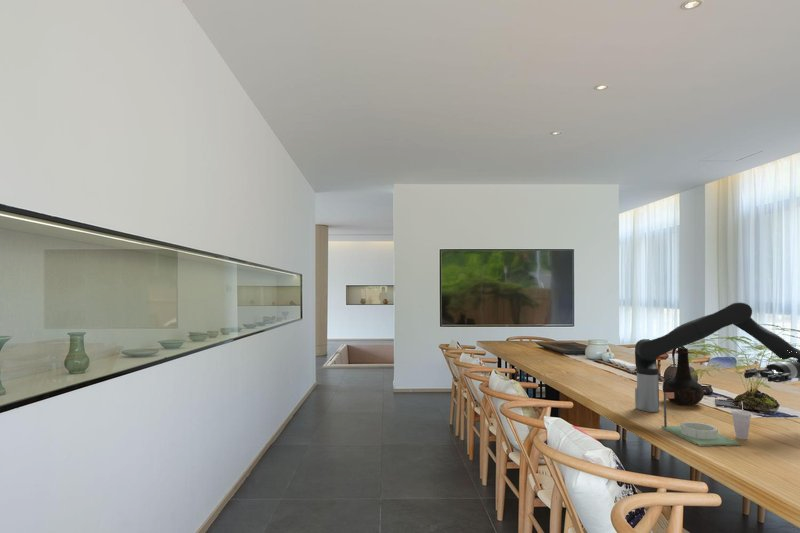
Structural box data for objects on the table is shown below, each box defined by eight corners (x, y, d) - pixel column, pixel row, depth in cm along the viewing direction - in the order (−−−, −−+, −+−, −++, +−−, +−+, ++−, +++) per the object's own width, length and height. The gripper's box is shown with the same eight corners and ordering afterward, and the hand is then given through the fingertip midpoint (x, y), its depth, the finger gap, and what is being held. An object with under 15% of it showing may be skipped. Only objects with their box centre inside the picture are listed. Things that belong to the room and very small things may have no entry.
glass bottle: (666, 397, 245) (665, 344, 247) (706, 403, 234) (705, 347, 235) (659, 403, 232) (657, 347, 233) (701, 410, 220) (699, 351, 221)
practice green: (661, 428, 192) (660, 392, 193) (698, 427, 193) (697, 391, 194) (699, 446, 170) (698, 405, 171) (740, 445, 171) (739, 405, 172)
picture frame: (758, 406, 229) (714, 401, 239) (758, 402, 229) (714, 397, 239) (762, 412, 218) (716, 407, 227) (762, 408, 218) (716, 403, 228)
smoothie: (755, 441, 176) (754, 404, 177) (736, 440, 177) (735, 403, 178) (746, 435, 182) (745, 400, 183) (728, 434, 184) (727, 399, 184)
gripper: (761, 360, 198) (737, 365, 192) (800, 365, 185) (776, 370, 179) (763, 378, 198) (738, 383, 191) (802, 383, 185) (777, 389, 178)
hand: (756, 377), depth 185 cm, fingers open, 8 cm apart
